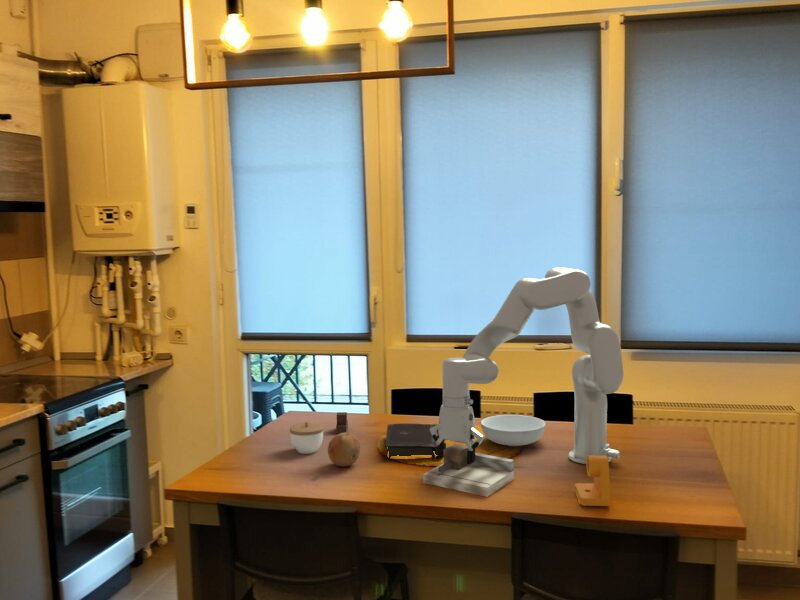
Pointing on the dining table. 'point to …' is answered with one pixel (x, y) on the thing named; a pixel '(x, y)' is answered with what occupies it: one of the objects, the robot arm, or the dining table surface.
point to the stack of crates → (341, 422)
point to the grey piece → (474, 475)
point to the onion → (344, 449)
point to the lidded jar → (306, 437)
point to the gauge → (454, 457)
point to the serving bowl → (513, 429)
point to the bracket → (595, 483)
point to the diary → (410, 440)
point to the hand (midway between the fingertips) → (456, 460)
